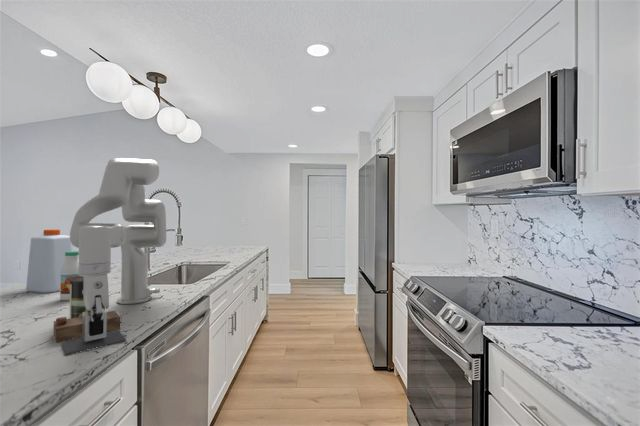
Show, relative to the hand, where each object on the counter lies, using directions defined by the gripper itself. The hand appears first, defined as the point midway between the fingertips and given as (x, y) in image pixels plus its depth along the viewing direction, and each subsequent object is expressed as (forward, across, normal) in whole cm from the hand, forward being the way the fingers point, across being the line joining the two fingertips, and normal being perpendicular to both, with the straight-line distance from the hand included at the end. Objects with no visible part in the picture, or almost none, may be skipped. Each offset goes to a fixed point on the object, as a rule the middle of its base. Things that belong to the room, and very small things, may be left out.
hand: (94, 330), depth 93 cm
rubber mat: (+3, 0, 0) cm, 3 cm away
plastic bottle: (+4, +85, +4) cm, 86 cm away
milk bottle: (+4, +60, -1) cm, 61 cm away
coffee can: (+4, +26, -2) cm, 27 cm away
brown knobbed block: (+3, +11, 0) cm, 12 cm away
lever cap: (+2, 0, 0) cm, 2 cm away
